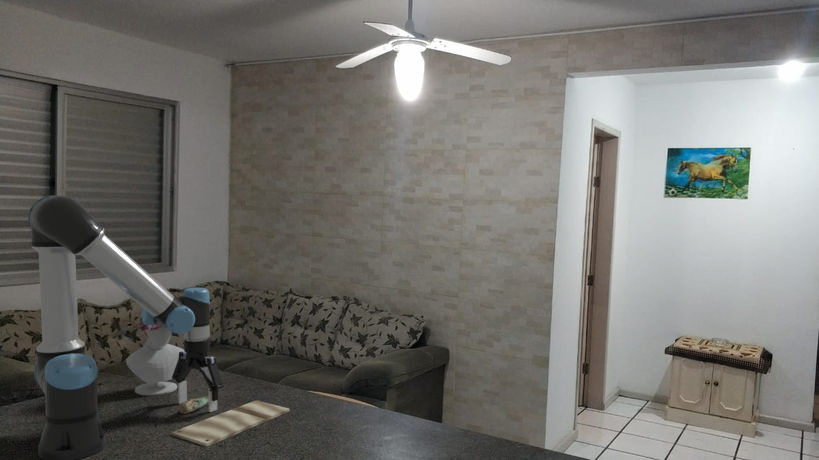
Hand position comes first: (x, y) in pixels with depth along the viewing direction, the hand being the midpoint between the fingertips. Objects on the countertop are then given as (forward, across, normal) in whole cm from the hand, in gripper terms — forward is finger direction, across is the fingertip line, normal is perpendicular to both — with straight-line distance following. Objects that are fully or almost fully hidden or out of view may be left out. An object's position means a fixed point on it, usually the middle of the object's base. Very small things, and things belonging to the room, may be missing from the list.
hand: (197, 406), depth 195 cm
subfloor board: (0, -19, +3) cm, 19 cm away
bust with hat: (0, +23, -4) cm, 23 cm away
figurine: (+1, 0, 0) cm, 1 cm away
